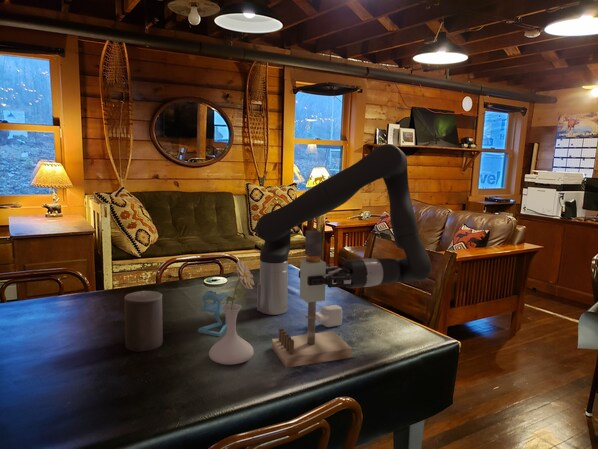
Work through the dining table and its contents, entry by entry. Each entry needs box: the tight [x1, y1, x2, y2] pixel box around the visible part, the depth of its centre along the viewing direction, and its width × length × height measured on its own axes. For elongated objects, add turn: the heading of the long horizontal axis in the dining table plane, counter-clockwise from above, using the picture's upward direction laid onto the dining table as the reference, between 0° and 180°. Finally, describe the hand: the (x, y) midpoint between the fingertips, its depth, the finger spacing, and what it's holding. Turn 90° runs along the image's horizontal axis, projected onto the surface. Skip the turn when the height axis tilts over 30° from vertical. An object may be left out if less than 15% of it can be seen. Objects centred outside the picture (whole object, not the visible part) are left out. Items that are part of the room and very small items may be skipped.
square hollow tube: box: [299, 258, 327, 303], centre depth 115 cm, size 5×5×10 cm
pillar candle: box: [123, 290, 164, 353], centre depth 120 cm, size 10×10×15 cm
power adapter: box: [305, 304, 343, 328], centre depth 136 cm, size 11×5×6 cm, turn 116°
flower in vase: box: [208, 260, 255, 365], centre depth 113 cm, size 13×11×25 cm
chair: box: [197, 290, 232, 338], centre depth 132 cm, size 8×8×12 cm
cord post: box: [271, 229, 353, 369], centre depth 116 cm, size 18×12×32 cm, turn 111°
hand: (303, 277), depth 114 cm, fingers open, 5 cm apart
